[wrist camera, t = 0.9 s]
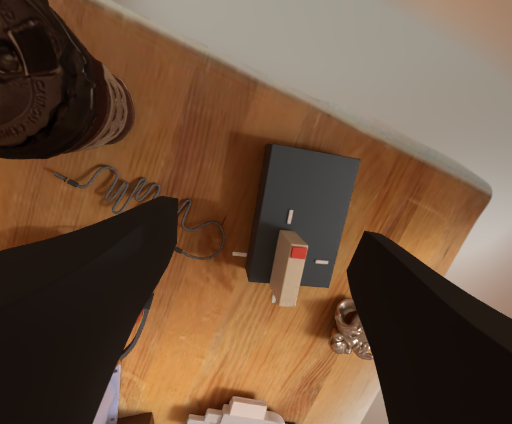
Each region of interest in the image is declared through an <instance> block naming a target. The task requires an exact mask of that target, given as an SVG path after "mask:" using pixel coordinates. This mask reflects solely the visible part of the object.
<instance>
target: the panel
mask: <svg viewBox="0 0 512 424" xmlns="http://www.w3.org/2000/svg"><path fill="white" fill-rule="evenodd" d="M359 163H360V159H356V158H351V157H345V156H340V155H334V154H328V153H323V152H317V151H312V150H306V149H301V148H295V147H289V146H284V145H278V144H266V148H265V154H264V160H263V166H262V172H261V178H260V184H259V190H258V196H257V202H256V208H255V214H254V220H253V226H252V232H251V238H250V244H249V250H248V256H247V262H246V268H245V269H246V273H247V277H248V281H249V282H258V283H270V278H271V273H272V268H273V263H274V258H275V252H276V247H277V242H278V237H279V232H280V230H287V231H295V232H296V233H297V234H298V235H299V236H300V238H301V239H302V240H303V241H304V242H305V243H306V244H307V245H308V250H307V254H306V259H305V263H304V268H303V273H302V277H301V282H300V286H312V287H326V288H329V285H330V281H331V277H332V273H333V268H334V264H335V260H336V256H337V252H338V248H339V244H340V240H341V236H342V232H343V228H344V224H345V220H346V216H347V212H348V208H349V204H350V200H351V196H352V192H353V188H354V184H355V180H356V175H357V171H358V167H359ZM246 255H247V253H242V252H233V253H232V256H243V257H246ZM271 302H272V303H275V296H274V294H273V296H272V301H271Z"/></svg>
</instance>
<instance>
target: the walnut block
mask: <svg viewBox="0 0 512 424" xmlns="http://www.w3.org/2000/svg"><path fill="white" fill-rule="evenodd" d="M117 424H154V419H153V414H152V413H147V414H142V415H136V416H131V417H126V418H121V419H118V421H117Z"/></svg>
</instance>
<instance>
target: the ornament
mask: <svg viewBox="0 0 512 424" xmlns="http://www.w3.org/2000/svg"><path fill="white" fill-rule="evenodd" d="M350 311H356V313H355V315H354V317H353V318H352V320H351V321H350V323H349V324H346V323H345V322H344V318H345V316H346V314H347V313H348V312H350ZM334 316H335V320H336V324H337V327H334V328H333V329H332V332H331V336H330V338H329V342H328V344H329V346H330V348H331V350H332V351H333V352H335V353H337V354H343V353H344V354H350V353H351V352H352V350H353V352H354V353H355V354H356V355H357V356H358V357H359V358H361V359H366V360H372V359H373V356H372V354H370V353H367V352H366V351H367V350H369V349H370V347H369V344H368V341H367V338H366V335H365V333H364V330H363V327H362V324H361V321H360V319H359V316H358V313H357V310H356V307H355V304H354V302H353V299H343V300H341V301H340V302H339V303H338V304H337V307H336V311H335V313H334ZM351 349H352V350H351Z"/></svg>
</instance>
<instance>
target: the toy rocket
mask: <svg viewBox="0 0 512 424" xmlns="http://www.w3.org/2000/svg"><path fill="white" fill-rule="evenodd" d="M266 409H267V405H266V401H261V400H255V399H248V398H242V397H236V396H233V397H232V399H231V400H230V402H229V405H228V404H224V405H223V408H222V410H217V409H210V408H208V409H207V411H206V414H205V416H200V415H193V414H189V416H188V419H187V422H186V424H286V423H285V422H284V420H283V418H282V417H281V416H280V415H279V414H277V413H275V412H272V411H266Z"/></svg>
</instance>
